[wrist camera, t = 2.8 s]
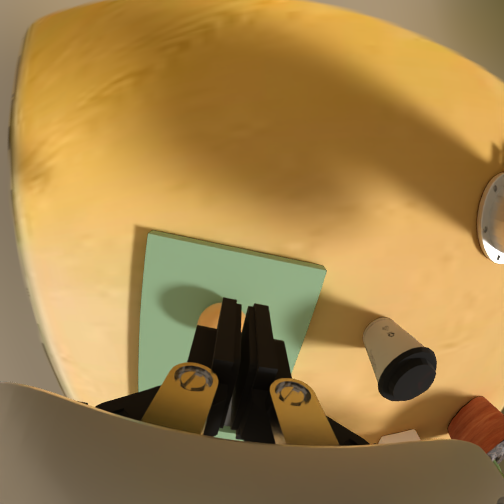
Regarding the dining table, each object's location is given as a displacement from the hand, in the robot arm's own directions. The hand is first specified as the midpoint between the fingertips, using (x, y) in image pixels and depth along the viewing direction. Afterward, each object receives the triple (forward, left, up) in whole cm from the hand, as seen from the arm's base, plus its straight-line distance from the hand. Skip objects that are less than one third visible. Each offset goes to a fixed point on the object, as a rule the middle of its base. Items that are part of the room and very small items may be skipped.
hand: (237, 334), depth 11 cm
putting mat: (+16, 0, -19) cm, 25 cm away
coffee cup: (+9, +19, -19) cm, 29 cm away
